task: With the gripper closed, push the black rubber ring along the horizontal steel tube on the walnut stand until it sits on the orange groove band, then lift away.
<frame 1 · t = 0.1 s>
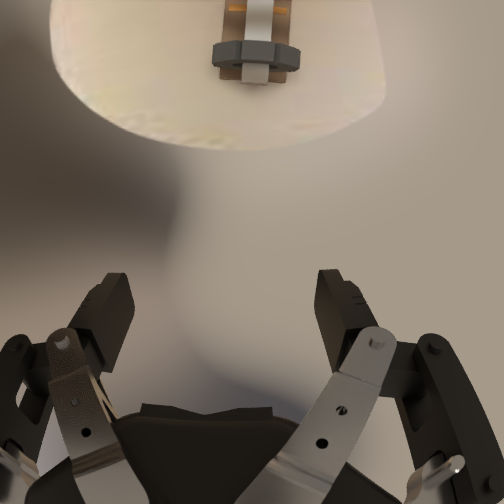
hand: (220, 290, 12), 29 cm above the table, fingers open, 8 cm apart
pipe stand: (256, 24, 29), on the table
o ring: (255, 57, 25), point 7 cm above the table, slide at 8.0 cm
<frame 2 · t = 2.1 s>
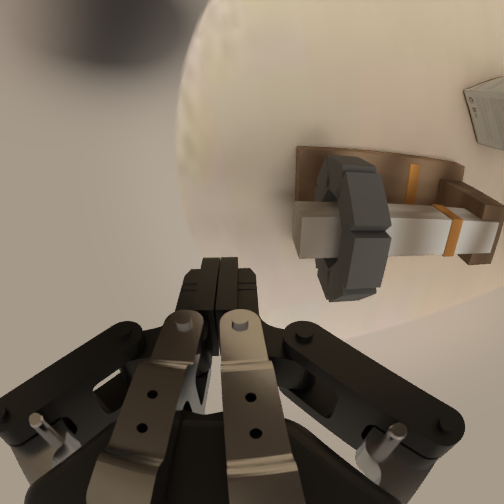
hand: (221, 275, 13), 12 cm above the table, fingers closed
skincare box: (491, 105, 19), on the table
pipe stand: (382, 196, 24), on the table
o ring: (344, 228, 18), point 7 cm above the table, slide at 8.0 cm
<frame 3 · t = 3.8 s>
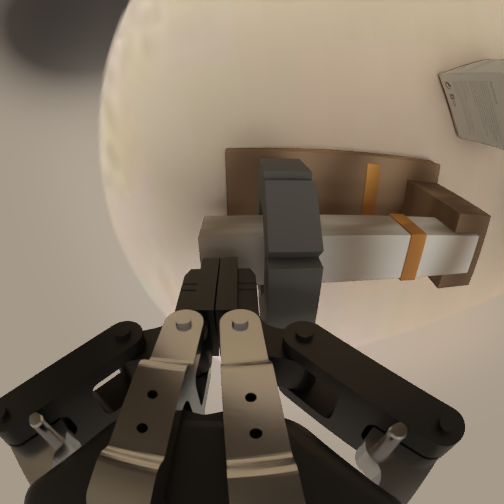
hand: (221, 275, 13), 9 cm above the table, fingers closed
skincare box: (475, 92, 17), on the table
pipe stand: (336, 202, 21), on the table
o ring: (280, 248, 15), point 7 cm above the table, slide at 7.1 cm, touching gripper
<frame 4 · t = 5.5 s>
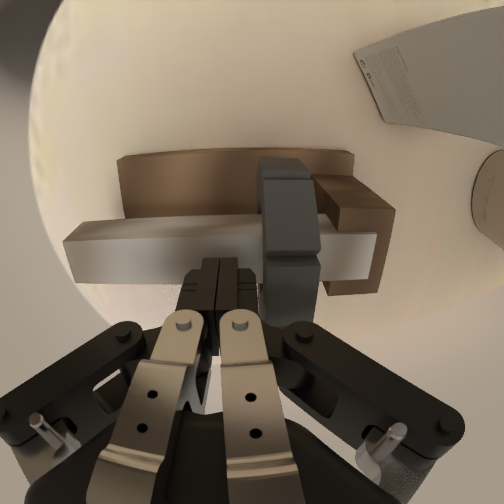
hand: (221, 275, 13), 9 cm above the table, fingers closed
skincare box: (408, 70, 16), on the table
pipe stand: (235, 202, 21), on the table
o ring: (279, 247, 15), point 7 cm above the table, slide at -0.4 cm, touching gripper
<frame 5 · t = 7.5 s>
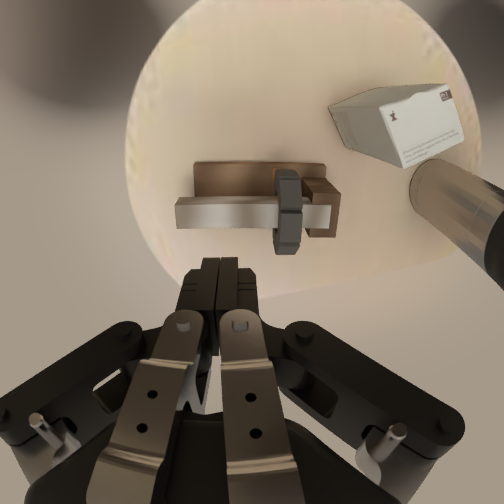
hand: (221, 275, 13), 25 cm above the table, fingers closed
skincare box: (362, 114, 32), on the table
pipe stand: (259, 192, 37), on the table
o ring: (285, 211, 31), point 7 cm above the table, slide at -0.4 cm
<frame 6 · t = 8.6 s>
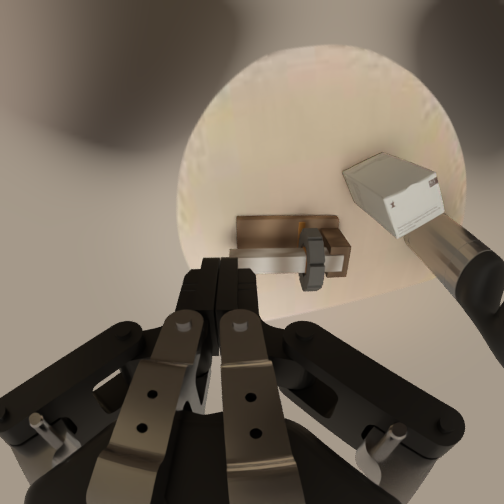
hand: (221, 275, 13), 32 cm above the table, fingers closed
skincare box: (369, 175, 43), on the table
pipe stand: (286, 238, 48), on the table
o ring: (310, 259, 42), point 7 cm above the table, slide at -0.4 cm
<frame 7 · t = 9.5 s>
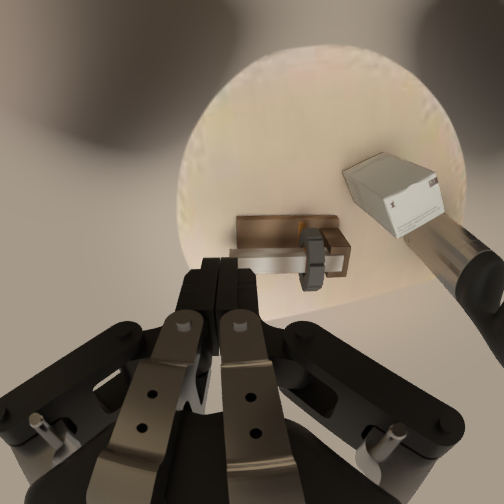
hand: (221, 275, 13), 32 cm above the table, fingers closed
skincare box: (368, 175, 43), on the table
pipe stand: (286, 238, 48), on the table
o ring: (310, 259, 42), point 7 cm above the table, slide at -0.4 cm
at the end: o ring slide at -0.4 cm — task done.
